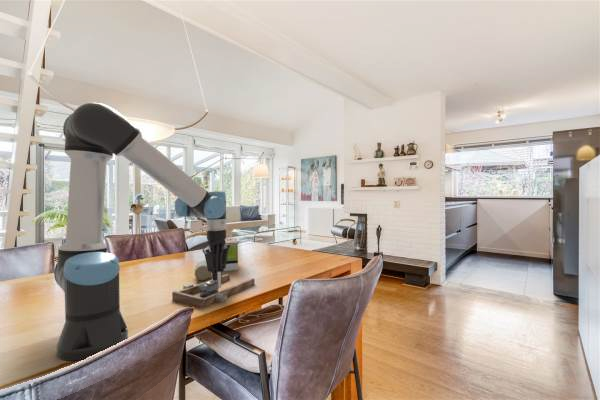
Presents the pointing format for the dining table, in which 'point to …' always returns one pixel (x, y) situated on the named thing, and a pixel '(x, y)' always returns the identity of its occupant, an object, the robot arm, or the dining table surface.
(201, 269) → the ceramic mug
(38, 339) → the dining table surface
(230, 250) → the tea box
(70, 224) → the robot arm
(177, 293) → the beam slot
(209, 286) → the rider
